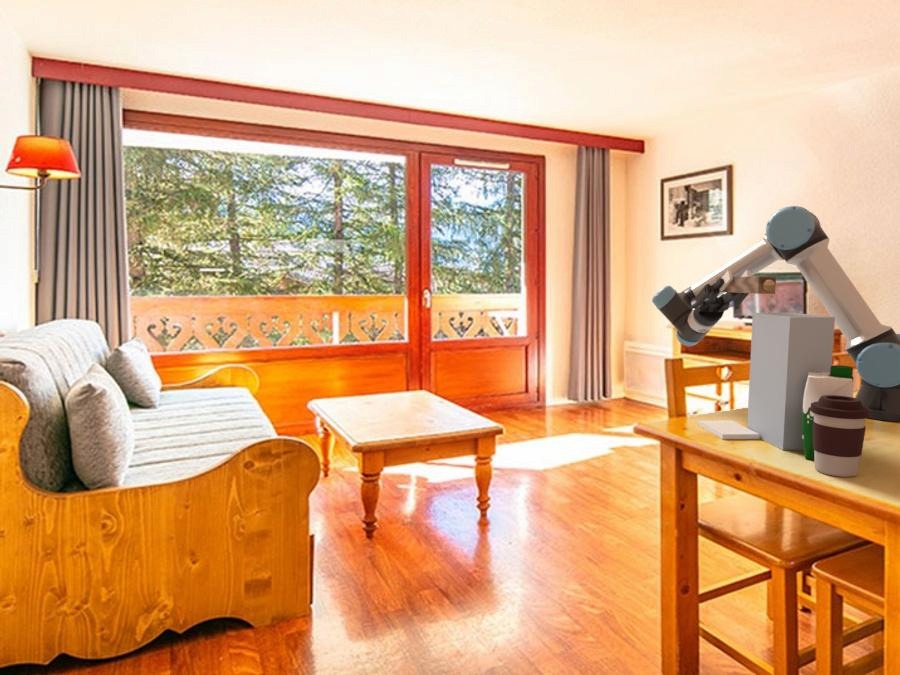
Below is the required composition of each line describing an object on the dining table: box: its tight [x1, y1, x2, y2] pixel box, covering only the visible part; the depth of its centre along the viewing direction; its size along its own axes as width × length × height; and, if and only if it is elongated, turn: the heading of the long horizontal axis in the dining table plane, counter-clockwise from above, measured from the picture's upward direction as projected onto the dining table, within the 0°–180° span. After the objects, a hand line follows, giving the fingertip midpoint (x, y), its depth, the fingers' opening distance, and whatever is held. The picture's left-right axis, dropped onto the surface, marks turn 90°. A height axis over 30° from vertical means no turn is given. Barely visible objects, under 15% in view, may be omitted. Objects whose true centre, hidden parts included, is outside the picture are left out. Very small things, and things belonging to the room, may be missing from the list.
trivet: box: [697, 419, 761, 440], centre depth 153 cm, size 14×9×1 cm, turn 1°
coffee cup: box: [810, 395, 870, 478], centre depth 121 cm, size 10×10×15 cm
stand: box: [746, 312, 836, 451], centre depth 144 cm, size 16×10×30 cm, turn 1°
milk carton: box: [802, 364, 854, 461], centre depth 131 cm, size 9×9×20 cm
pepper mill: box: [716, 276, 777, 295], centre depth 155 cm, size 26×4×4 cm, turn 179°
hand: (739, 274), depth 158 cm, fingers closed on pepper mill, 4 cm apart
